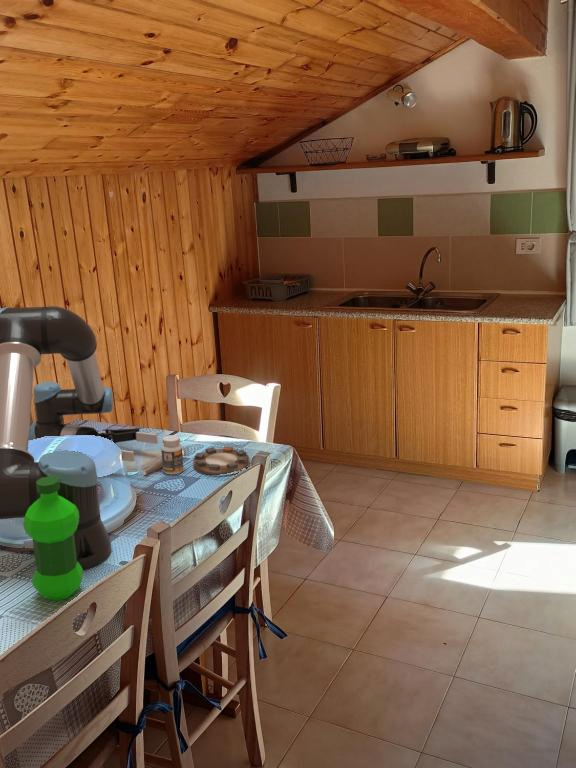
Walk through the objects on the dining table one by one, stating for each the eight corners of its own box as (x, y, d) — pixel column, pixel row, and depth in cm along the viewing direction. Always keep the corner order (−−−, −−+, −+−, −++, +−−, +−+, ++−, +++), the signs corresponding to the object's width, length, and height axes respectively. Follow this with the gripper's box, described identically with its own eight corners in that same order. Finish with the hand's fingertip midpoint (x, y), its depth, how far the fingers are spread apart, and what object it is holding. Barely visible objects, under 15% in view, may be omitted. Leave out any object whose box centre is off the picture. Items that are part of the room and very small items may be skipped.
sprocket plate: (240, 478, 206) (240, 470, 205) (185, 473, 210) (184, 465, 209) (255, 456, 221) (255, 448, 220) (203, 451, 224) (203, 444, 224)
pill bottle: (179, 476, 208) (177, 442, 205) (159, 474, 209) (157, 441, 206) (186, 467, 213) (184, 435, 210) (166, 466, 214) (165, 433, 211)
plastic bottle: (48, 577, 159) (35, 468, 152) (94, 582, 157) (84, 472, 150) (23, 604, 150) (8, 489, 143) (72, 610, 148) (60, 494, 141)
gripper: (103, 436, 231) (166, 444, 225) (55, 467, 208) (123, 477, 202) (102, 412, 229) (165, 420, 222) (53, 442, 206) (121, 451, 200)
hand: (145, 447), depth 212 cm, fingers open, 13 cm apart
